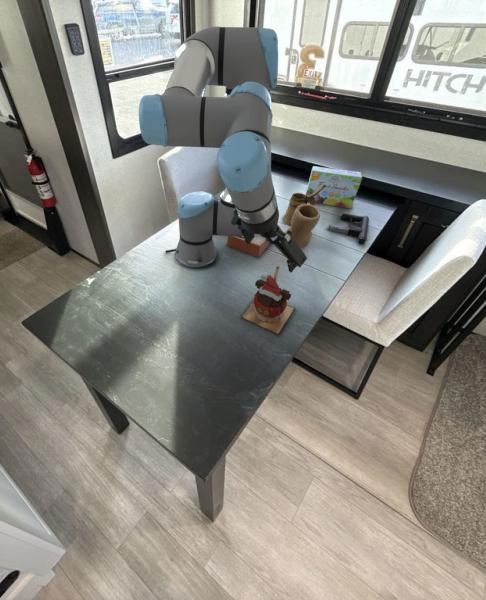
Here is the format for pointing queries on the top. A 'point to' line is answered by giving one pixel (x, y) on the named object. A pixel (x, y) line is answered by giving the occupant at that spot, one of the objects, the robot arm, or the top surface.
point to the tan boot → (304, 223)
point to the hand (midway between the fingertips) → (271, 253)
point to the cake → (270, 298)
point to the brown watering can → (299, 203)
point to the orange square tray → (251, 248)
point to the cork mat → (271, 326)
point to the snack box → (334, 186)
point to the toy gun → (353, 231)
